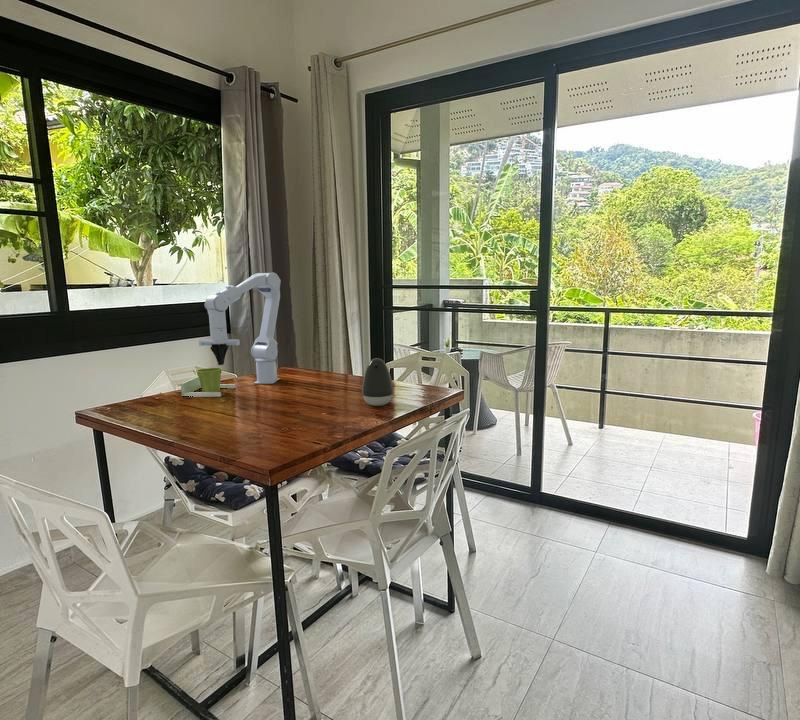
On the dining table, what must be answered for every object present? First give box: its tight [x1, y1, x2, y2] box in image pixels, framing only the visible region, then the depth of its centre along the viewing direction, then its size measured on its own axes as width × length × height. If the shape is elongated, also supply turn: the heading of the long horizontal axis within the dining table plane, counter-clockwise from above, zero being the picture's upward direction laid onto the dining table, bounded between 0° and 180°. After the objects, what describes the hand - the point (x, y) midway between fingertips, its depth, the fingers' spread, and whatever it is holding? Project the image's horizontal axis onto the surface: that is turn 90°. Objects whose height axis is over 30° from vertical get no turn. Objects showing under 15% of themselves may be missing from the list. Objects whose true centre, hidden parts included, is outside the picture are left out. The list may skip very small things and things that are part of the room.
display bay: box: [180, 375, 236, 398], centre depth 190 cm, size 15×14×5 cm
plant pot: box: [195, 367, 224, 392], centre depth 190 cm, size 9×9×9 cm
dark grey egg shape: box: [361, 357, 394, 407], centre depth 166 cm, size 10×10×15 cm
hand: (221, 364), depth 189 cm, fingers closed
